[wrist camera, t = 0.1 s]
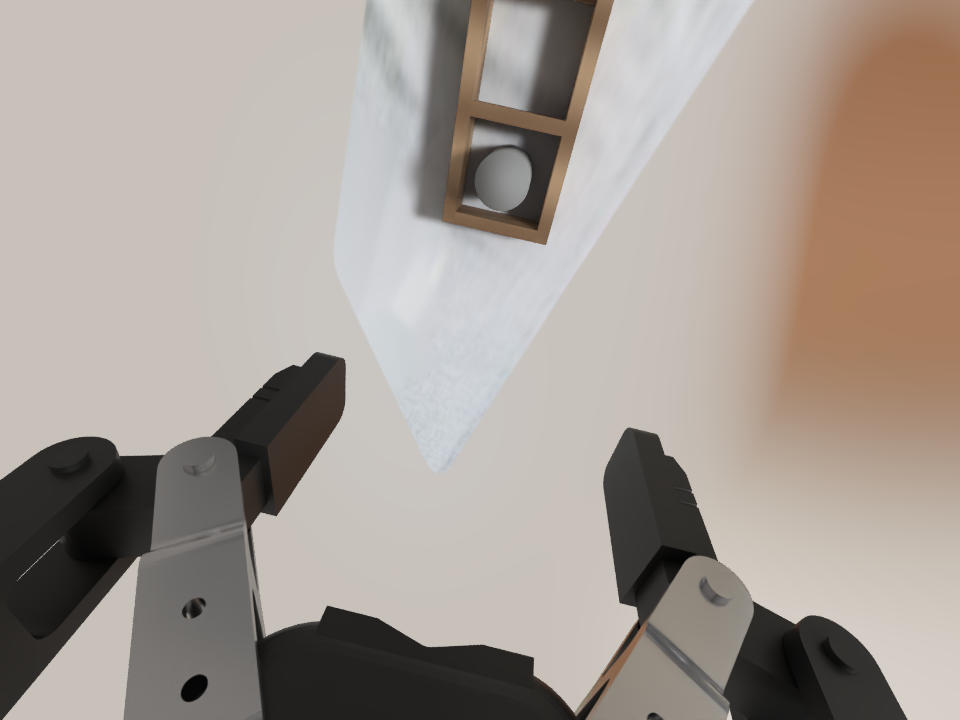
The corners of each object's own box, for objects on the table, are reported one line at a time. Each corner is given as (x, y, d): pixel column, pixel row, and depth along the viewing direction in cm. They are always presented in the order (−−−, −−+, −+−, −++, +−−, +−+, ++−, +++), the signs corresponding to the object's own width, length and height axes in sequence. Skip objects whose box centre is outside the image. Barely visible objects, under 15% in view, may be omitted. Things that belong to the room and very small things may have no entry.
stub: (490, 139, 34) (480, 146, 29) (537, 150, 34) (535, 158, 29) (481, 190, 36) (470, 204, 31) (525, 200, 36) (522, 216, 31)
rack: (484, -39, 28) (478, -52, 26) (613, -11, 28) (620, -22, 26) (449, 213, 38) (442, 221, 35) (546, 235, 37) (545, 245, 35)
